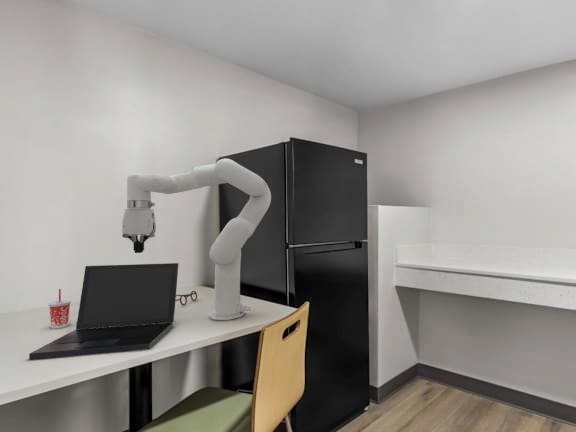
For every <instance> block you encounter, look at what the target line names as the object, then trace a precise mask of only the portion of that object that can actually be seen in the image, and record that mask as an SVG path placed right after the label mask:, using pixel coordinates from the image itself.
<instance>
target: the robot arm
mask: <svg viewBox="0 0 576 432" xmlns="http://www.w3.org/2000/svg"><path fill="white" fill-rule="evenodd" d="M222 184H229V185H231V186H233V187H235V188H236V189H238V190H240V191H242V192H243V193H245V194H247V195H249V199H248V200H247V203H246V204H245V205H244V207H243V208H242V210H241V211H240V213H239V214H238V215H237V217H233V218H232V219H230V220H229V221H228V222H227V223H226V224H225V226H224V228H223V229H222V231H221V232H220V233H219V234H218V236H217V238H216V239H215V240H214V242H213V243H212V245H211V247H210V248H209V258H210V260H211V261H212V263H214V311H213V312H212V313H211V314H210V315H209V316H210V319H211V320H213V321H229V320H235V319H239V318H241V317H243V316H244V315H245V312H252V305H244V304H242V302H241V261H242V248H243V246H244V245H245V244H246V242H247V240H248V239H249V238H251V237H252V236H253V234H254V232H255V230H256V229H257V227H259V224H260V223H261V221H262V219H263V218H264V216H265V214H266V213H267V211H268V210H269V207H270V205H271V203H272V193H271V189H270V188H269V185H268V184H267V182H266V181H265V179H263V178H262V177H261V176H260V175H259V174H257V173H255V172H253V171H252V170H250V169H248V168H246V167H245V166H242V165H241V164H239V163H237V162H236V161H234V160H233V159H231V158H221V159H219V160H218V161H216V162H215V163H209V164H203V165H197V166H195V167H193V168H192V169H191V170H189V171H186V172H184V173H178V174H173V175H167V174H163V173H160V172H157V173H156V172H155V173H135V172H134V173H129V174H128V175H127V178H126V196H127V197H126V208H125V209H124V212H123V217H122V223H121V232H122V235H121V236H122V238H125V239H128V240H130V241H131V243H133V251H134V253H135V254H141V253H143V252H144V251H145V242H146V241H147V240H148V239H151V238H155V237H156V232H157V225H156V215H155V211H154V209H152V207H155V205H156V203H155V202H152V200H151V199H152V193H157V194H164V195H172V194H179V193H185V192H188V191H189V192H190V191H192V190H198V189H201V188H205V187H211V186H216V185H222Z"/></svg>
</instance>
